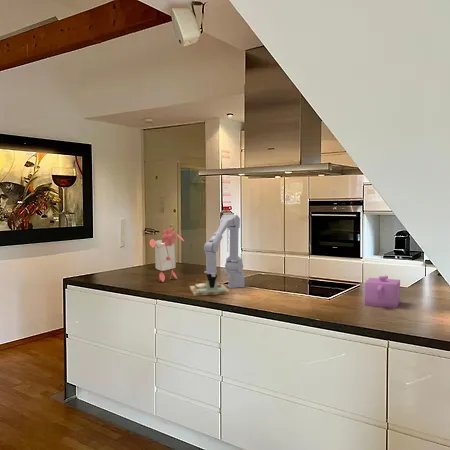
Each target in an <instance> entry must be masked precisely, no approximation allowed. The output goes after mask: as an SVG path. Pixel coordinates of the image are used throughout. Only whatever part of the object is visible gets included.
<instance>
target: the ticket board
mask: <svg viewBox="0 0 450 450" xmlns="http://www.w3.org/2000/svg"><path fill="white" fill-rule="evenodd" d="M222 287H223V288H224V289H225V291H222V292H206V293H200V292H199V289H205V288H206V282H203V283H194V285H189V289H190V292H191V293H192V295H193V296H194V297H196V296H197V297H198V296H200V297H201V296H210V295H211V296H214V295H226V294H227V295H229V294H230V290H229V288H227V286H225V285H224V284H223V283H221V284H220V283H219V282H217V288H222Z"/></svg>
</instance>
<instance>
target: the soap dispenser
mask: <svg viewBox="0 0 450 450" xmlns="http://www.w3.org/2000/svg"><path fill="white" fill-rule="evenodd" d="M155 243H156V245H157V246H158V247H160V246H162V245H164V244H165V243H162V239H157V240H155ZM156 245H155V246H154V264H155V265H154V267H155V270H158V271H161V269H162V272H164V271H168V270H172V262H173V270H174V269H176V265H177V264H176V262H177V261H176V260H177V259H176V242H175V243H174V244H172V245H171V246H169V245H168V246H167V249H168V253H167V249H166V246H165V245H164V246H162V247H160V248H157V246H156ZM168 255H169V257H170V259H171V260H172V261H171V260H169V261H168V260H166V257H168ZM165 260H166V261H165ZM163 261H164V262H163ZM161 262H162V263H161ZM160 263H161V266H160Z"/></svg>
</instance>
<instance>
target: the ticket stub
mask: <svg viewBox="0 0 450 450" xmlns="http://www.w3.org/2000/svg"><path fill="white" fill-rule="evenodd" d="M205 283H206V288H205V289H199V292H200V293H206V292H222V291H225V289H224V288H223V287H222V288H217V283H218V279H216V280H215V285H214V288H210V285H209V281H208V280H206V282H205Z"/></svg>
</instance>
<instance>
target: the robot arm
mask: <svg viewBox="0 0 450 450" xmlns="http://www.w3.org/2000/svg"><path fill="white" fill-rule="evenodd" d="M240 224H241V218H240V216H239V215H237V214H222V215H221V218H220V224H219V226H218V227H217V231H215V232H213V233H212V235H211V237H210V238H209V239H208V241H206V242H204V245H203V251H204V255H205V266H206V270H205V271H203V272H204V273H205V276H206V278H207V281H209V285H210V288H214V285H215V280H217V278H218V275H217V273H218V270H217V252H218V251H219V246H220V242H221V241H222V239H223V234H224V233H225V231H226V229H228V230H229V256H228V257H226V260H225V264H224V265H225V266H224V268H225V270H226V272H227V274H228V278H227V279H228V284H226V287H228V289H233V288H234V289H235V288H245V286H246V285H245V273H244V272H243V269H244V264H243V263H244V262H243V259H242V257H240V256H239V229H240V227H241V225H240Z"/></svg>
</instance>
